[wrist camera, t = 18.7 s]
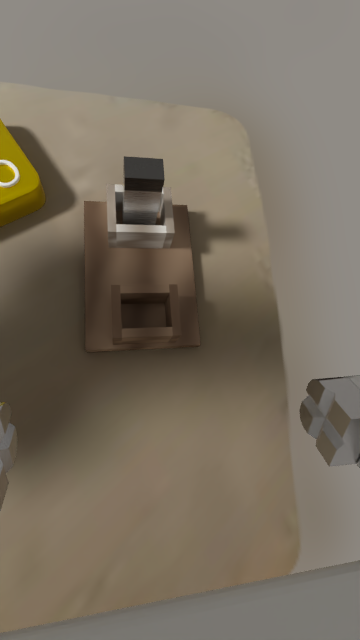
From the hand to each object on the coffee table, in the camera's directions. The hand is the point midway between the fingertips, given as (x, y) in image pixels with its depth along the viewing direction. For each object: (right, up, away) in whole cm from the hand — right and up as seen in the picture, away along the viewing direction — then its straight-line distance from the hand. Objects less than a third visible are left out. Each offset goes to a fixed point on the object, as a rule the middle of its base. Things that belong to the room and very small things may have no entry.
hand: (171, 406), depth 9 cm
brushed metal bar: (-5, +15, +35) cm, 38 cm away
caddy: (-5, +8, +34) cm, 36 cm away
